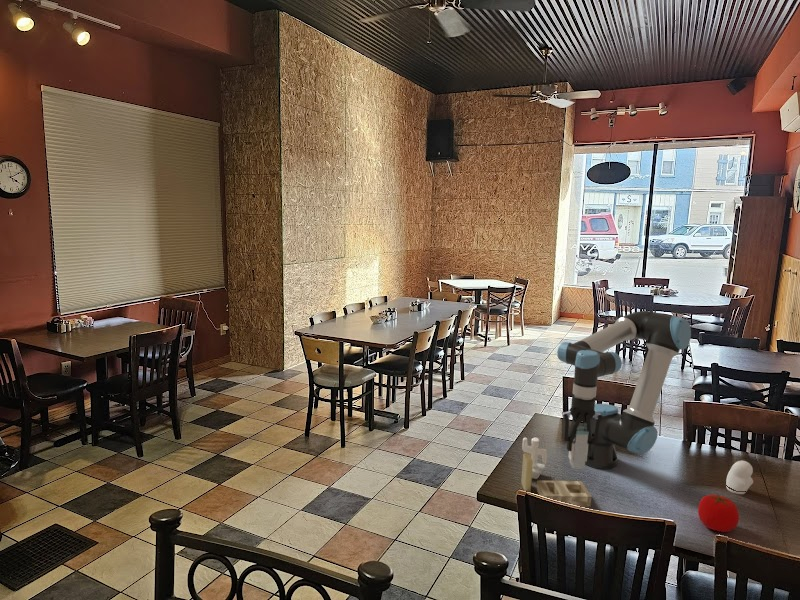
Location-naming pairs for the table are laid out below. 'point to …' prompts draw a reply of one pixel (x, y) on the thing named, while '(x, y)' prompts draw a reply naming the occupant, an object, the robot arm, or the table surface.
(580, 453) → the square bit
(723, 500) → the tomato
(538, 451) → the figurine
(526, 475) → the pale yellow rectangular block
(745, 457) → the table surface
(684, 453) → the table surface
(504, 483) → the table surface
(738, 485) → the figurine
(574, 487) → the socket block
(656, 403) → the robot arm
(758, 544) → the table surface
